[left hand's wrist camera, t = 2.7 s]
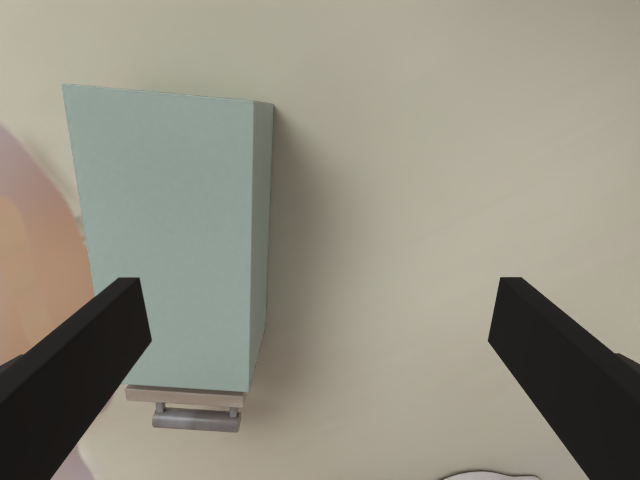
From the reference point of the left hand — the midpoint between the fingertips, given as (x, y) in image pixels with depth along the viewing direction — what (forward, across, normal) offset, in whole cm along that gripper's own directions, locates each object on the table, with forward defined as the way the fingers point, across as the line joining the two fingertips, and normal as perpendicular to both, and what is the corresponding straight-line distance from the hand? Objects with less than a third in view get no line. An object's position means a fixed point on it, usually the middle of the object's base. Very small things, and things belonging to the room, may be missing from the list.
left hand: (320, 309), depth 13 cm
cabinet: (+18, -10, -2) cm, 21 cm away
